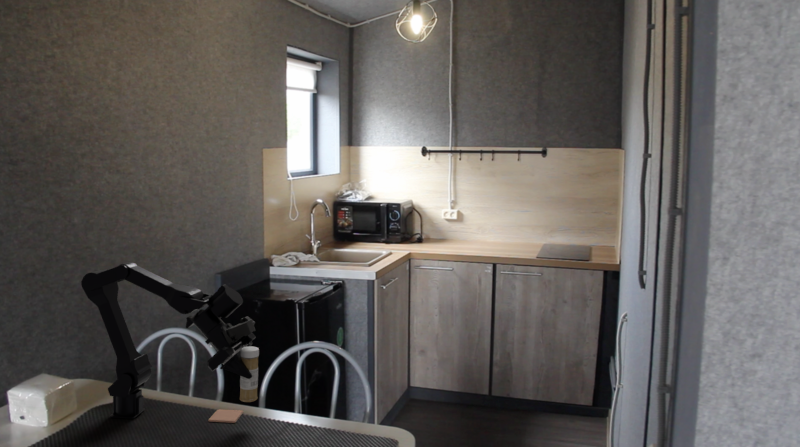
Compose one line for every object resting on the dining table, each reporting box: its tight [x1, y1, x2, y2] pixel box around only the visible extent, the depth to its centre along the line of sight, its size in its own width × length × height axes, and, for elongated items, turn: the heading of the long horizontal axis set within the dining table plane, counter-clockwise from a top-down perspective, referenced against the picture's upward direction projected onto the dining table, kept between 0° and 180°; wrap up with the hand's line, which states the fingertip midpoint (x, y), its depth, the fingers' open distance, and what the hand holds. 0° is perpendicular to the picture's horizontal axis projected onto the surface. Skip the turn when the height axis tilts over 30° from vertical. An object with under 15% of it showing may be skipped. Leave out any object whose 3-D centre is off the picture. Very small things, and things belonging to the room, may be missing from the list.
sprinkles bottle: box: [239, 346, 260, 403], centre depth 152 cm, size 5×5×14 cm
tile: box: [208, 408, 244, 424], centre depth 157 cm, size 7×7×1 cm
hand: (254, 374), depth 152 cm, fingers closed on sprinkles bottle, 4 cm apart
